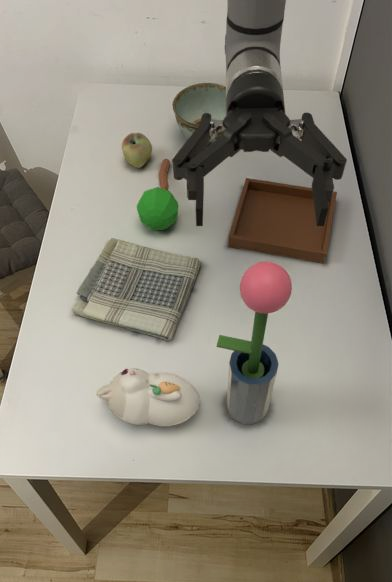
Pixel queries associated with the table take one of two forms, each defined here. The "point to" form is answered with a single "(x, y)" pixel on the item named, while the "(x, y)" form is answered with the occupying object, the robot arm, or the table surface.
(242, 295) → the flower
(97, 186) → the table surface
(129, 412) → the cat figurine
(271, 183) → the tray
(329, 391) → the table surface
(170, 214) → the tree
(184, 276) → the dish towel
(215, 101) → the bowl
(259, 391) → the vase
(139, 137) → the apple
